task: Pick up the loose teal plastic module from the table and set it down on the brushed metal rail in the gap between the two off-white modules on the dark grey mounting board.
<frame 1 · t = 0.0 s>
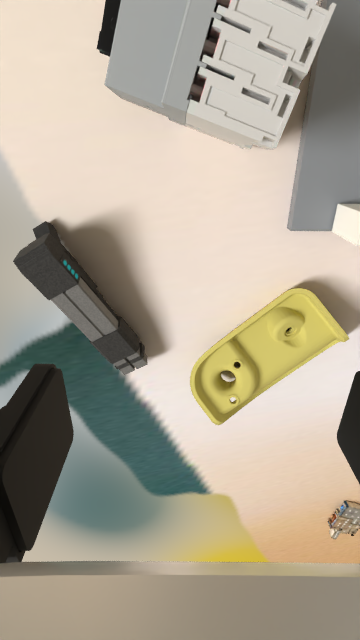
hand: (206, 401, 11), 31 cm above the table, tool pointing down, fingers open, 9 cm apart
circuit board: (358, 510, 64), on the table
plastic component: (257, 342, 47), on the table
circuit breaker: (191, 81, 33), on the table
gun: (95, 295, 44), on the table
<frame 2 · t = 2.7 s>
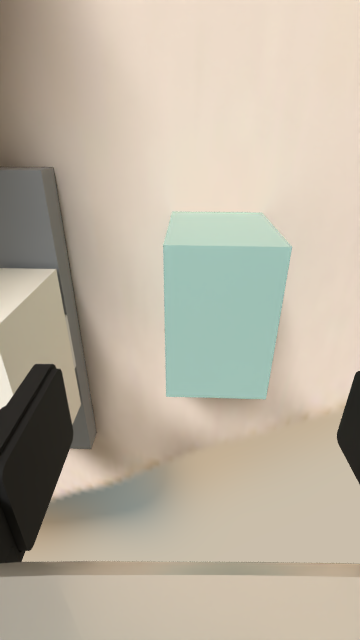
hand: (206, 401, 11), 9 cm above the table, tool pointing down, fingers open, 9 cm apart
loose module: (213, 276, 19), on the table
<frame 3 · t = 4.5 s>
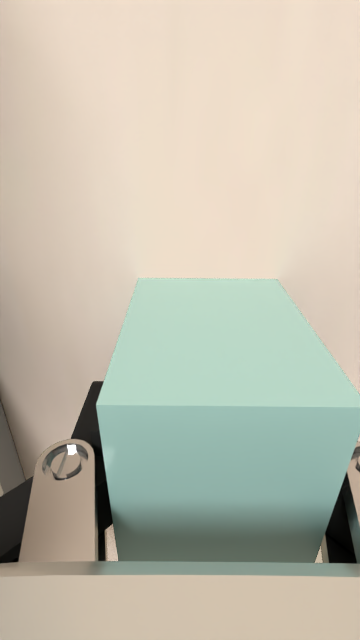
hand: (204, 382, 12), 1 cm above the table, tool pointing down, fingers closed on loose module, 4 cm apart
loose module: (203, 366, 12), on the table, touching gripper
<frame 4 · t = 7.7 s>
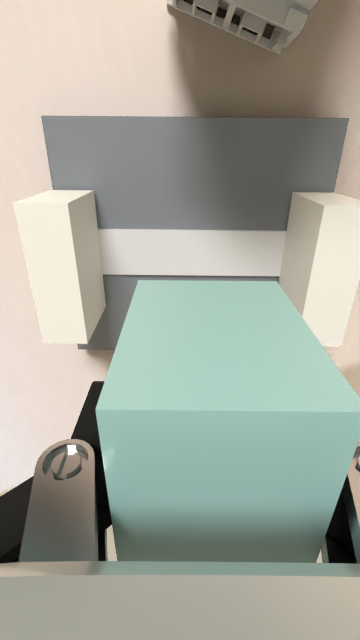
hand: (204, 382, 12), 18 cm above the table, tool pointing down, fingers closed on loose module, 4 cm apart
rail board: (191, 247, 27), on the table
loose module: (203, 368, 12), point 17 cm above the table, touching gripper
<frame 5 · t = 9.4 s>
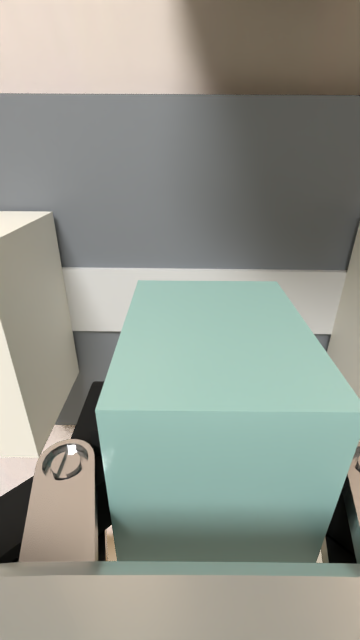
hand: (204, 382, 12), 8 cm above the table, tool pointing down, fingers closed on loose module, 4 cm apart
rail board: (201, 289, 19), on the table
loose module: (203, 369, 12), point 7 cm above the table, touching gripper
when the fingers open (4 cm above the table, at t = 11.0 s): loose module drops 1 cm, resting on rail board.
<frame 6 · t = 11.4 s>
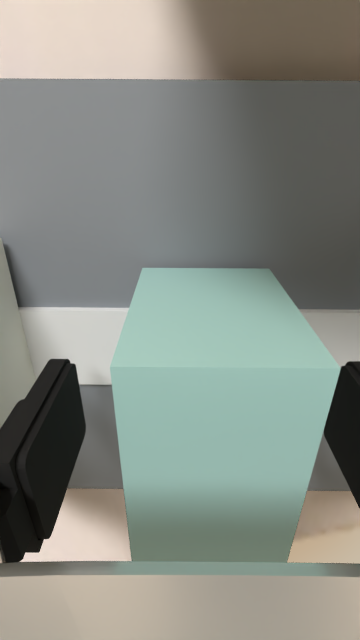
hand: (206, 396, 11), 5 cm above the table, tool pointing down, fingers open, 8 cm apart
rail board: (199, 329, 15), on the table
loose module: (202, 351, 13), point 2 cm above the table, touching rail board
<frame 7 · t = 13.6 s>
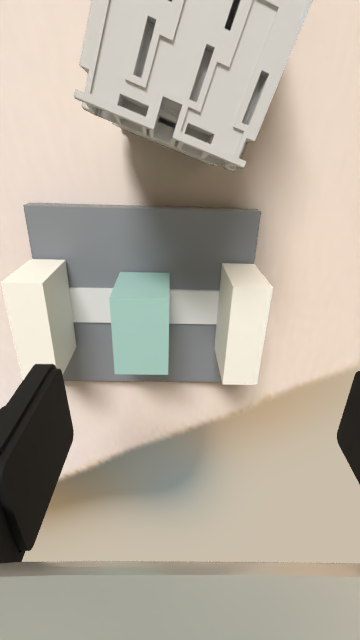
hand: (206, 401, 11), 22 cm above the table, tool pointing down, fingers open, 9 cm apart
circuit breaker: (196, 44, 25), on the table
rail board: (146, 299, 33), on the table
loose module: (145, 307, 32), point 2 cm above the table, touching rail board
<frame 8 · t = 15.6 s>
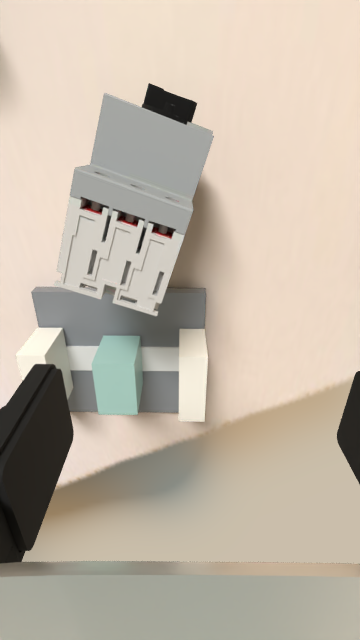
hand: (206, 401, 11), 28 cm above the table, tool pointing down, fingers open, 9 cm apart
circuit breaker: (151, 182, 34), on the table
rail board: (125, 351, 43), on the table
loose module: (124, 359, 42), point 2 cm above the table, touching rail board
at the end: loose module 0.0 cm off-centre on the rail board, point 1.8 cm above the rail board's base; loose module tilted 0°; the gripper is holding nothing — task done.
